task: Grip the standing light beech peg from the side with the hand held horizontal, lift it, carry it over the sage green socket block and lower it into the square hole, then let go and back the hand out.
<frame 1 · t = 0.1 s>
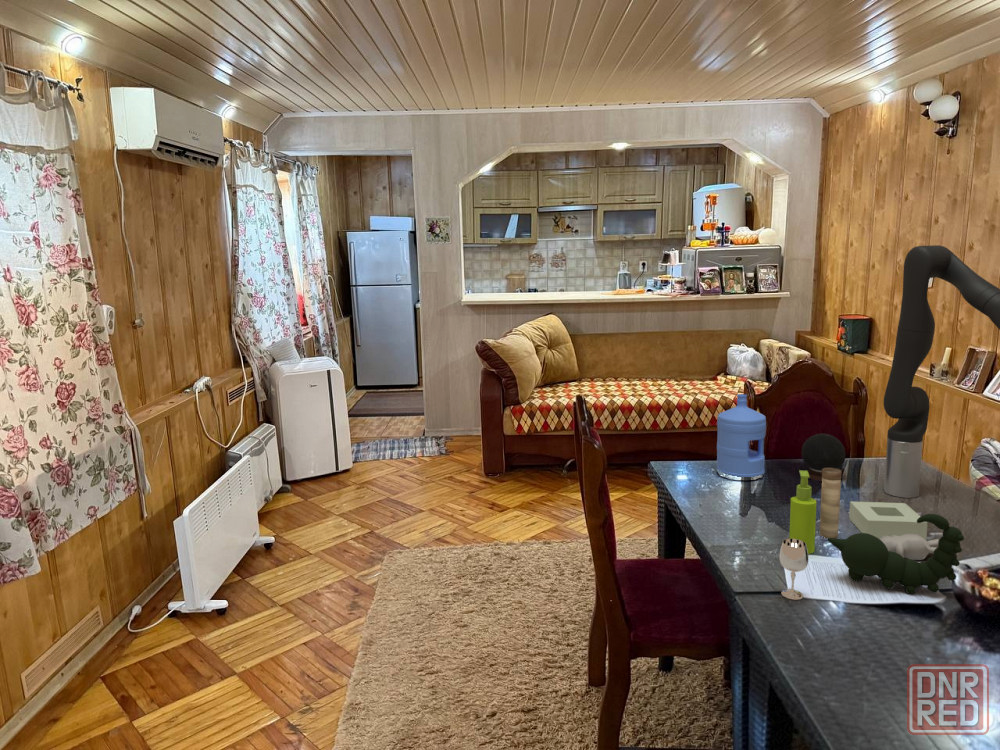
soap dispenser: (801, 549, 167), on the table
toy figurine: (889, 586, 146), on the table
black ball on pedestal: (822, 478, 220), on the table
bunny figurine: (910, 557, 160), on the table
socket block: (885, 529, 176), on the table
wineglass: (792, 595, 144), on the table
water jug: (740, 475, 226), on the table
peg: (828, 535, 174), on the table
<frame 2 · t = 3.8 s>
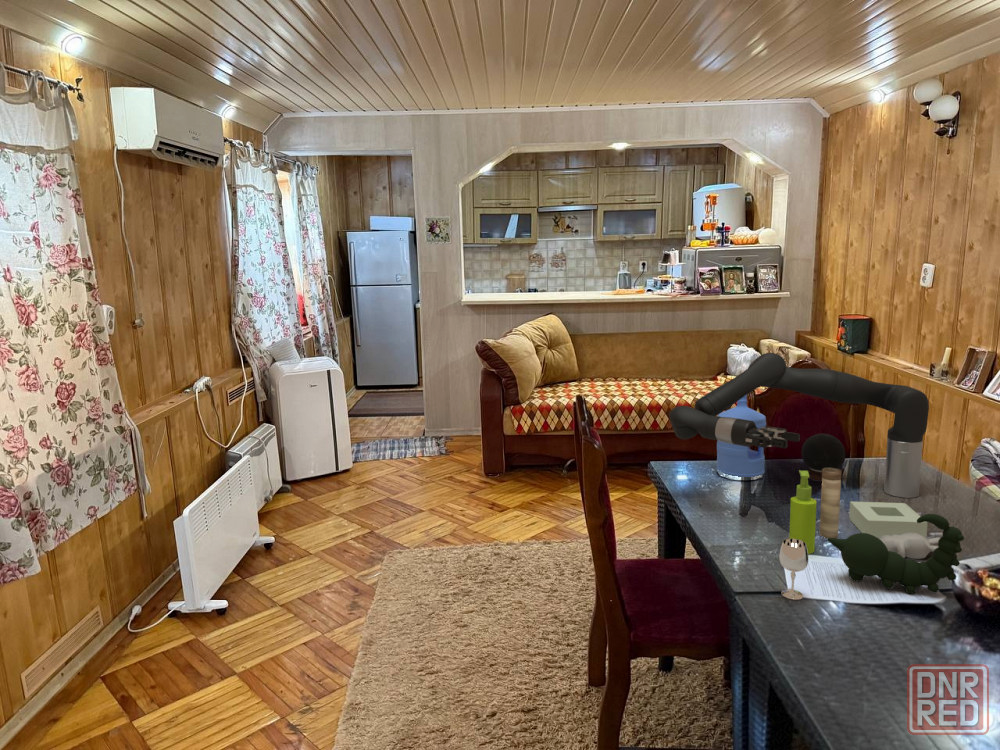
hand: (793, 441, 176), 24 cm above the table, tool horizontal, fingers open, 8 cm apart
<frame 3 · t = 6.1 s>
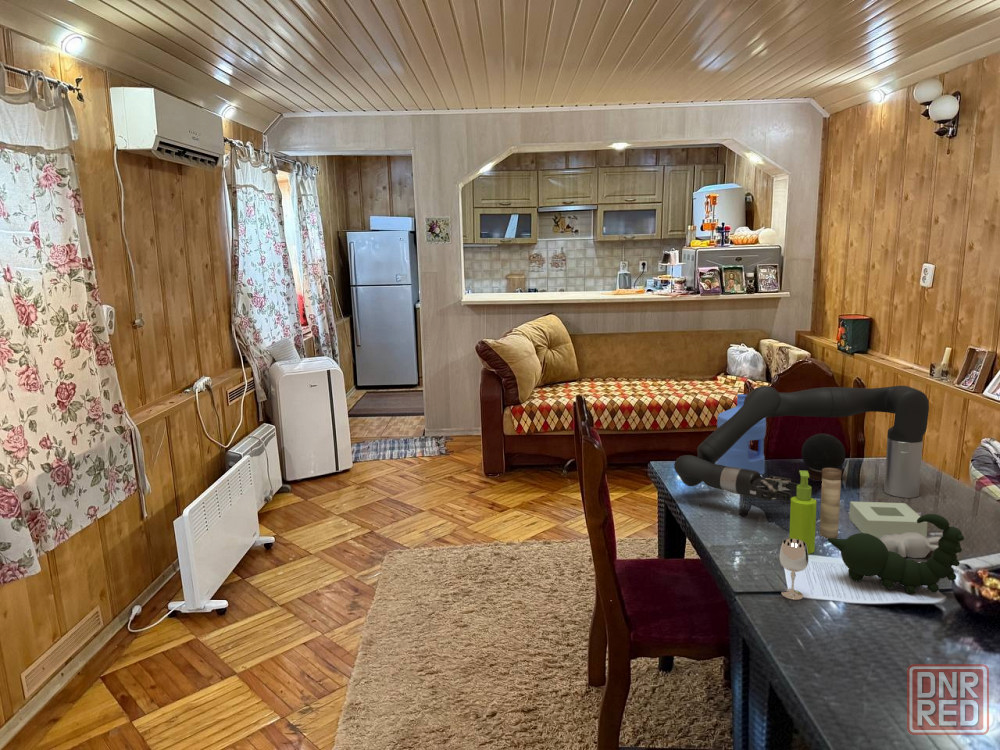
hand: (797, 493, 178), 10 cm above the table, tool horizontal, fingers open, 8 cm apart
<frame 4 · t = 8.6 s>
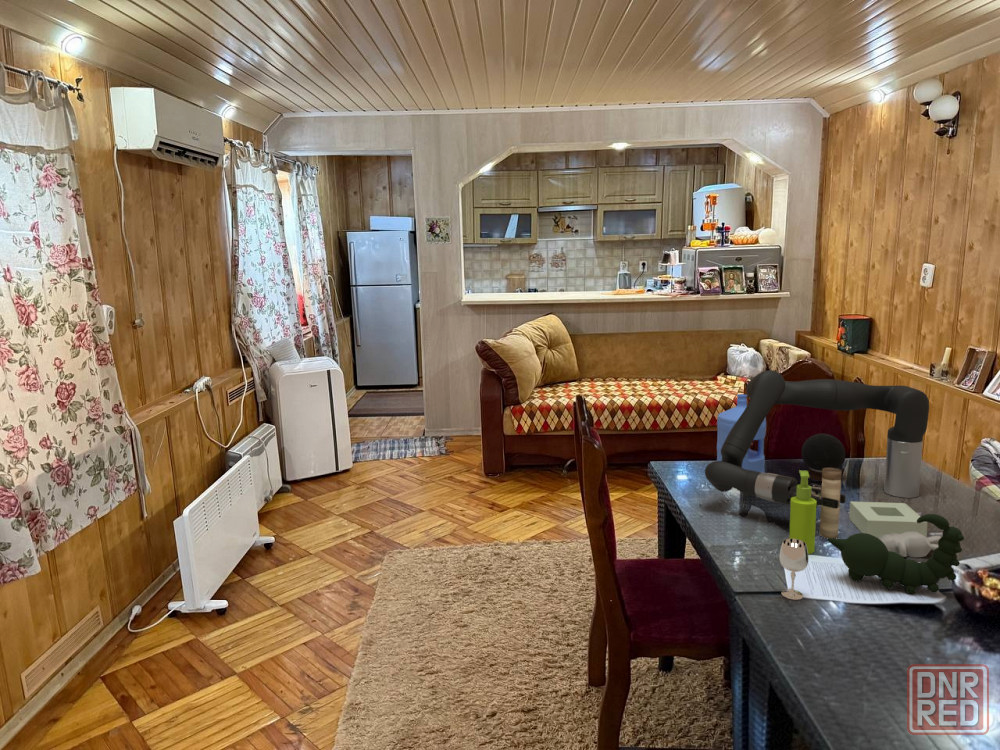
hand: (841, 501, 170), 10 cm above the table, tool horizontal, fingers closed on peg, 4 cm apart
peg: (828, 535, 174), on the table, touching gripper
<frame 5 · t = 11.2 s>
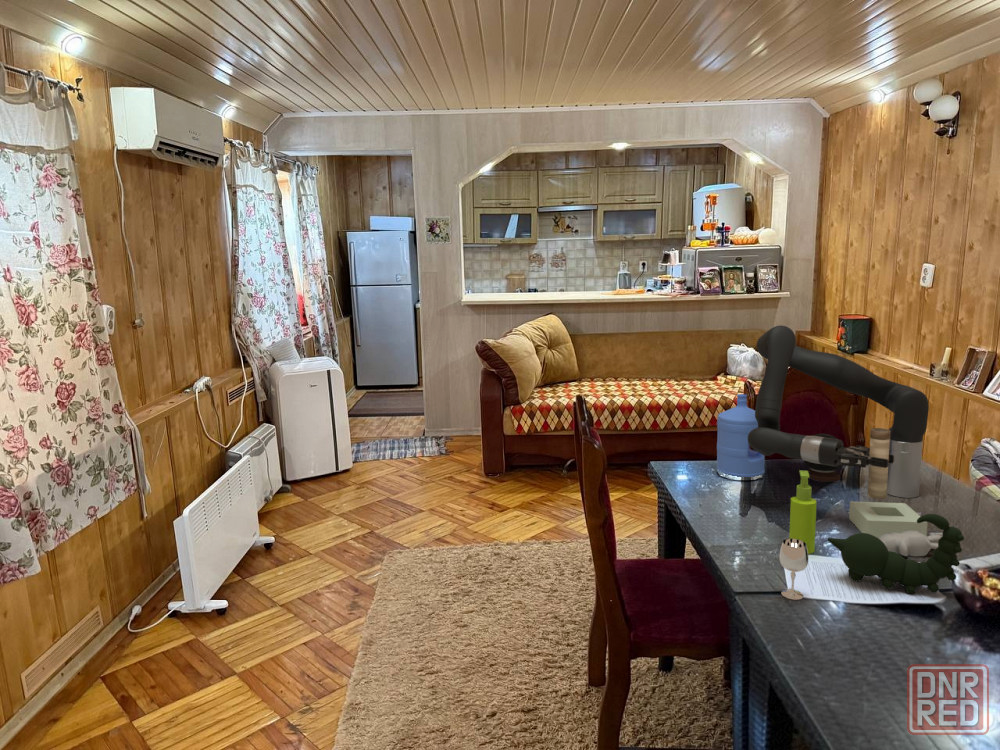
hand: (890, 461, 171), 20 cm above the table, tool horizontal, fingers closed on peg, 4 cm apart
peg: (876, 496, 174), point 10 cm above the table, touching gripper
when the fingers open (11 cm above the table, at t = 14.0 s): peg drops 1 cm, resting in socket block.
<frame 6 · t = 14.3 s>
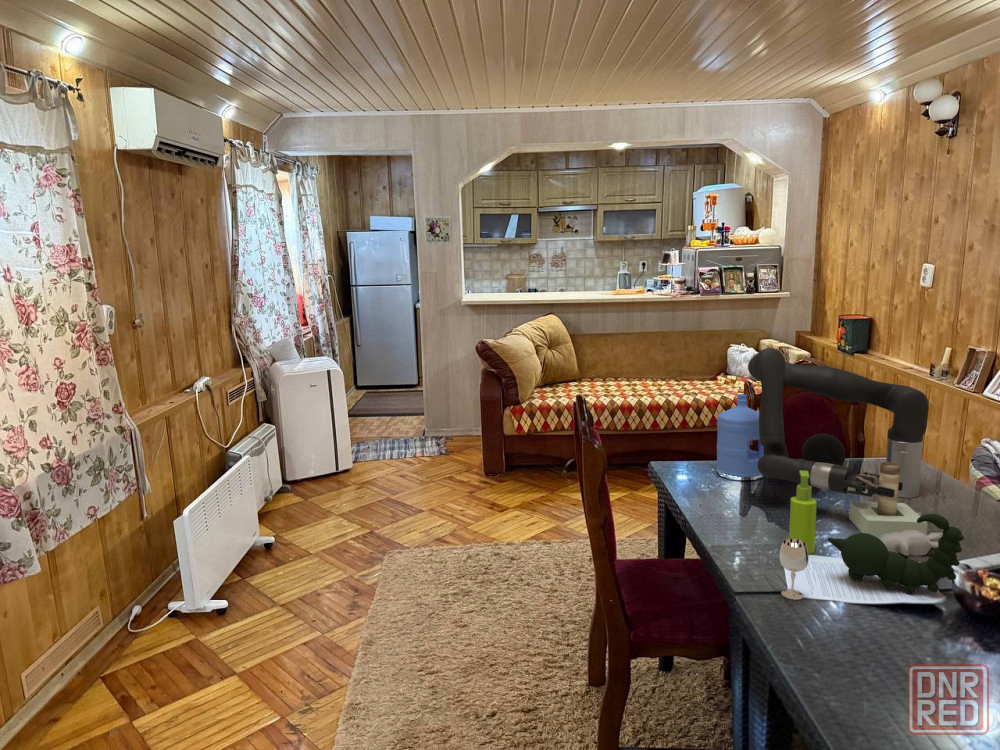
hand: (898, 490, 173), 12 cm above the table, tool horizontal, fingers open, 6 cm apart
peg: (885, 529, 176), resting in socket block
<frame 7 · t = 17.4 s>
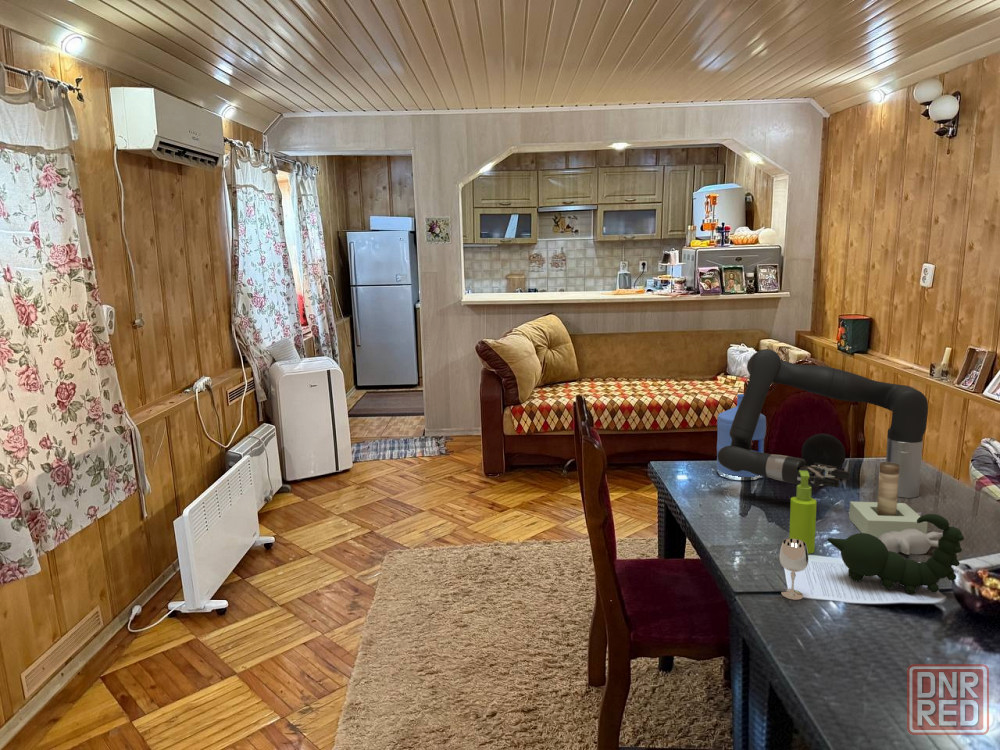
hand: (844, 479, 182), 12 cm above the table, tool horizontal, fingers open, 8 cm apart
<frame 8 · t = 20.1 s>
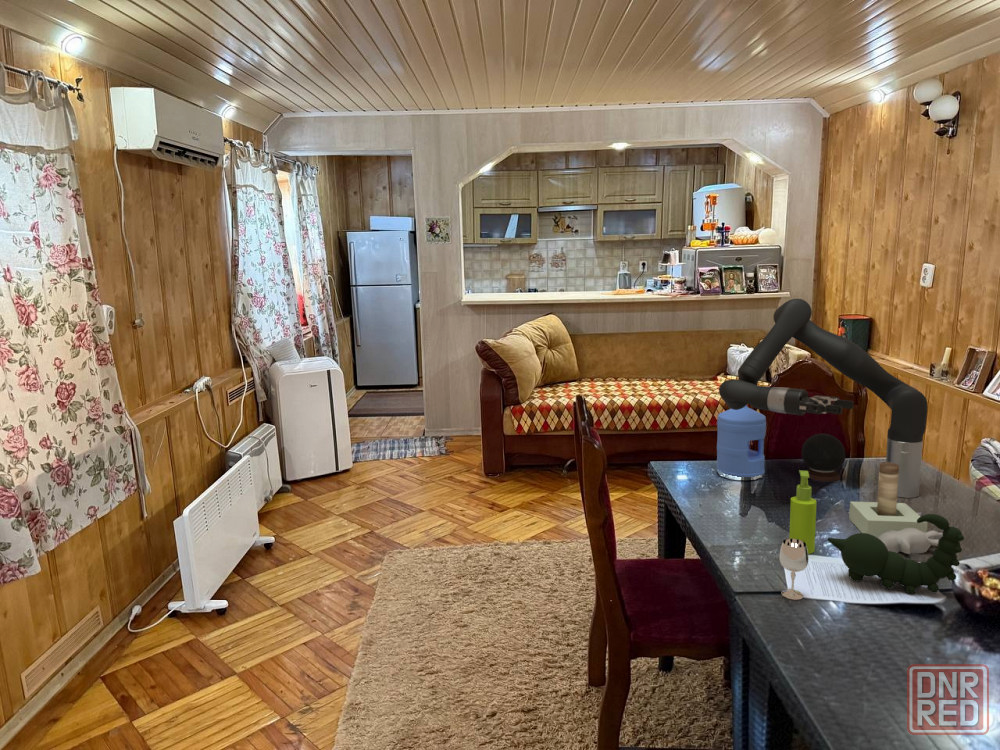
hand: (847, 407, 179), 32 cm above the table, tool horizontal, fingers open, 8 cm apart
at the end: peg 0.1 cm off-centre on the socket block, point 0.0 cm above the socket block's base; peg tilted 0°; the gripper is holding nothing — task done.
